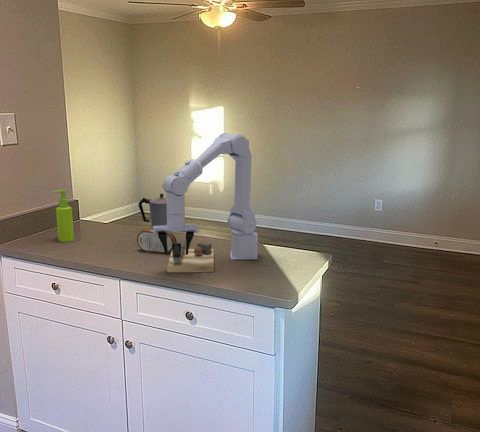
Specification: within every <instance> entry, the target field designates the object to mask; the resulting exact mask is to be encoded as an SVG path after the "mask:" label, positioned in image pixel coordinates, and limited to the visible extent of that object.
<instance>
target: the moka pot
mask: <svg viewBox="0 0 480 432" xmlns="http://www.w3.org/2000/svg"><path fill="white" fill-rule="evenodd" d="M144 203H145V204H147V205H149V212H150V219H147V218H146V215H145V211H144V208H143V204H144ZM138 208H139V211H140V213H141V217H142V220H143V222H146V223H150V222H151V226H150V229H153V226H161V225H167V201H166V198H165V195H164V193H160V194H159V197H155V198H146V197H143V198H142V199H141V200H139V202H138ZM150 220H151V221H150Z"/></svg>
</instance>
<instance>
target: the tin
mask: <svg viewBox="0 0 480 432" xmlns="http://www.w3.org/2000/svg"><path fill="white" fill-rule="evenodd" d="M136 242H137V246H138V247H139V248H140V249H141V250H142V251H144V252H149V253H157V254H165V252H164V248H163V245H162V243H161V241H160V239H159V237H158V233H153V229H151V228H144V229H142V230H141V231H140V232H138V234H137V237H136ZM174 242H178V241H177V238H176V236H175V235H174V232H173V233H167V248H168V254H169V253H171V251H172V243H174Z"/></svg>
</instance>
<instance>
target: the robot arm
mask: <svg viewBox="0 0 480 432" xmlns="http://www.w3.org/2000/svg"><path fill="white" fill-rule="evenodd" d="M225 154H226V155H229V156H230V157H231V158H232V159H233V160H234V162H235V163H234V164H235V166H234V167H235V169H234V171H235V172H234V201H233V202H234V204H233V206H232V207H231V208H230V209H229V215H228V217H227V225H228V227H229V228H230V232H231V251H230V252H229V253H230V254H229V256H230V260H231V261H232V260H233V261H234V260H236V261H237V260H239V261H240V260H258V259H259V258H258V257H259V256H258V254H259V247H258V244H259V243H258V242H259V239H258V232H255V230H256V229H257V220H256V216H255V215H256V214H255V211H254V210H253V208H252V207H251V183H252V182H251V181H252V180H251V179H252V161H253V160H252V158H253V157H252V153H251V150H250V140H249V139H248V138H246V136H244V135H243V134H234V133H226V132H223V133H220V135H218V137H216V138H215V139H214V140H213V143H211V144H210V145H209V146H208V147H207V148H206V149H205V150H204V152H202V154H200V155H199V156H198V157H197V158H196V159H195V160H194V159H190V160H186V161H184V165H183V166H181V167H180V168H179V169H178V170H175V171H174V174H171V175H168V176H166V177H165V179H164V181H163V183H162V189H163V191H164V192H165V197H166V201H167V225H161V226H153V233H158V237H159V239H160V241H161V243H162V245H163V248H164V252H165V253H164V255H165V256H167V255H168V254H169V253H168V248H167V233H173V234H174V233H185V245H186V255H188V250H189V249H190V246H191V242H192V240H193V238H194V236H195V235H194V234H199V233H200V232H199V231H200V225H191V224H186V210H185V209H186V208H185V207H186V206H185V203H186V202H185V201H186V199H185V196H186V195H185V194H186V193H187V192H188V189H189V187H190V185H191V184H192V183H193V182H194V181H195V180H197V179H198V178H199V177H200V176H201V175H202V174H203V170H204V169H203V168H205V167H206V166H207V165H209V164H210V163H212V161H214V160H215V159H216V158H218V157H219V156H220V155H225Z"/></svg>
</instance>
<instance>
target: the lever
mask: <svg viewBox="0 0 480 432" xmlns="http://www.w3.org/2000/svg"><path fill="white" fill-rule="evenodd" d="M185 250H186V243H184V241H177V242H174V243H172V256H173V261H181V258H182V256H183V251H185Z"/></svg>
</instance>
